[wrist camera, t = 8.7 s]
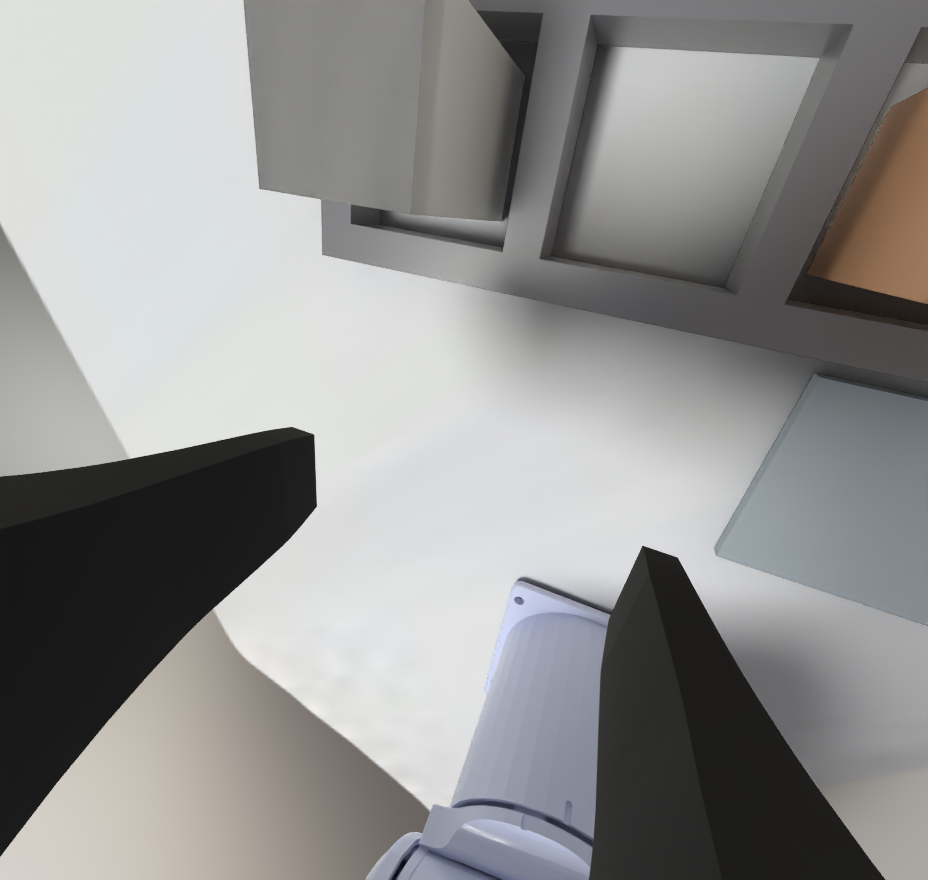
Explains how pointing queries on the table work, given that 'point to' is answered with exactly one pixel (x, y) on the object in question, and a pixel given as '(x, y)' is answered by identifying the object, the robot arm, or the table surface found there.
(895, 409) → the mat
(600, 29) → the gray slotted rack
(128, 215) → the table surface
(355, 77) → the twin plug
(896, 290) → the plug
